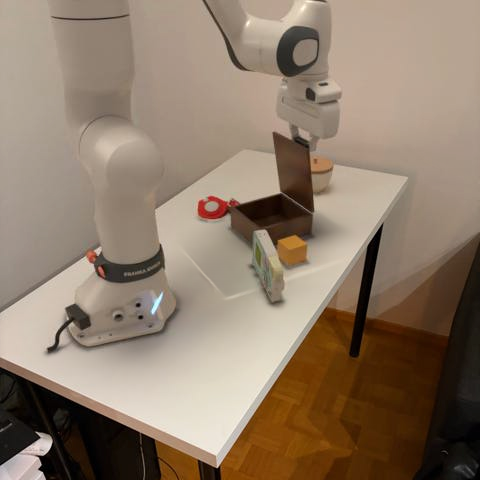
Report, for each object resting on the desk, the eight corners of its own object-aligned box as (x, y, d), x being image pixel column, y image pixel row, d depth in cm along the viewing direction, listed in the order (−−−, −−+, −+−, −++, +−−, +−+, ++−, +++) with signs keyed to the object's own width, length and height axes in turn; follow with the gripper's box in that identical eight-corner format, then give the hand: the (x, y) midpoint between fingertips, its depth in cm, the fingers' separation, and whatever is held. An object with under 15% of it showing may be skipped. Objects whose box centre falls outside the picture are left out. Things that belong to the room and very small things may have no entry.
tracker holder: (204, 221, 128) (189, 199, 133) (207, 232, 132) (192, 210, 137) (244, 202, 130) (228, 181, 135) (246, 214, 134) (230, 193, 139)
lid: (306, 150, 108) (324, 142, 109) (272, 132, 118) (289, 124, 119) (312, 213, 119) (328, 205, 120) (280, 191, 129) (295, 184, 130)
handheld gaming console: (269, 310, 104) (250, 266, 113) (282, 308, 104) (262, 264, 114) (273, 271, 95) (252, 227, 105) (286, 269, 96) (264, 225, 106)
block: (288, 268, 112) (289, 249, 109) (276, 258, 116) (277, 240, 113) (306, 262, 114) (307, 244, 111) (294, 252, 118) (295, 234, 114)
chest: (259, 253, 118) (259, 230, 114) (230, 228, 128) (230, 206, 124) (311, 236, 123) (313, 214, 119) (280, 213, 133) (281, 192, 129)
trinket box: (294, 181, 150) (296, 151, 144) (329, 181, 149) (332, 151, 143) (296, 196, 141) (297, 165, 136) (332, 196, 141) (336, 165, 135)
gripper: (270, 76, 112) (269, 136, 121) (322, 97, 99) (317, 163, 107) (292, 72, 115) (290, 131, 124) (347, 92, 101) (340, 157, 110)
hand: (303, 146), depth 115 cm, fingers closed on lid, 5 cm apart
